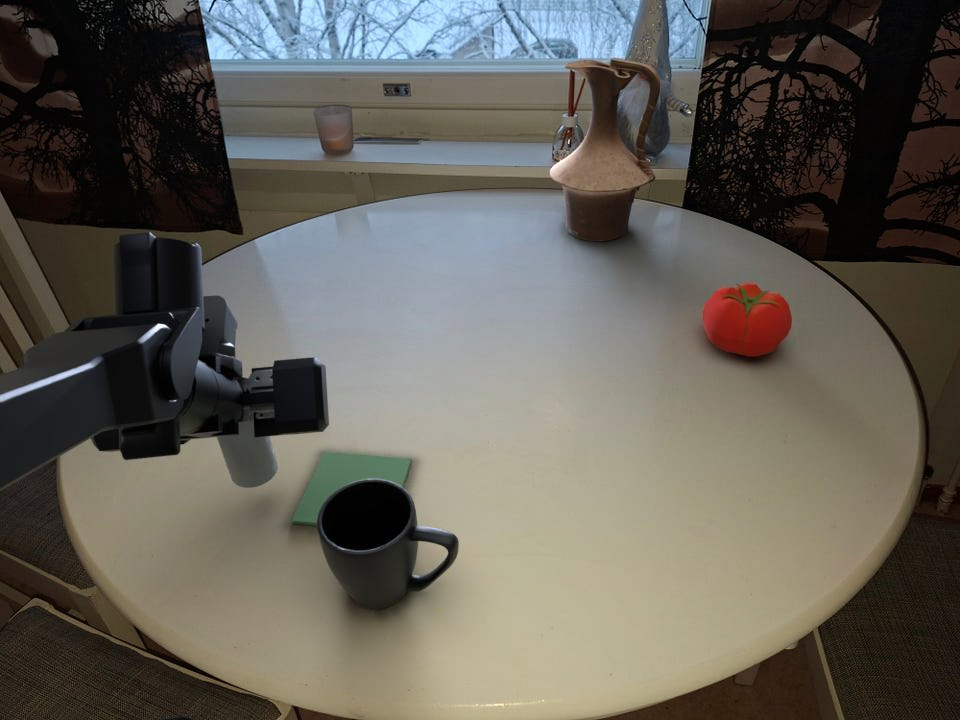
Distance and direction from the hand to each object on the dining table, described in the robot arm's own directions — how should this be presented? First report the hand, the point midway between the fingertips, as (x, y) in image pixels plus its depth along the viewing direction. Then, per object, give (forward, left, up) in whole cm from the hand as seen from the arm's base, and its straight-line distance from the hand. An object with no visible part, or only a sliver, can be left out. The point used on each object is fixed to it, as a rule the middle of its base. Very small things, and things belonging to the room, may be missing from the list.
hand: (241, 412), depth 65 cm
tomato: (+46, -42, -11) cm, 63 cm away
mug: (-5, -18, -11) cm, 22 cm away
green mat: (+4, -8, -11) cm, 15 cm away
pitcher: (+73, -15, -11) cm, 75 cm away
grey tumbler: (-1, -1, -7) cm, 7 cm away
